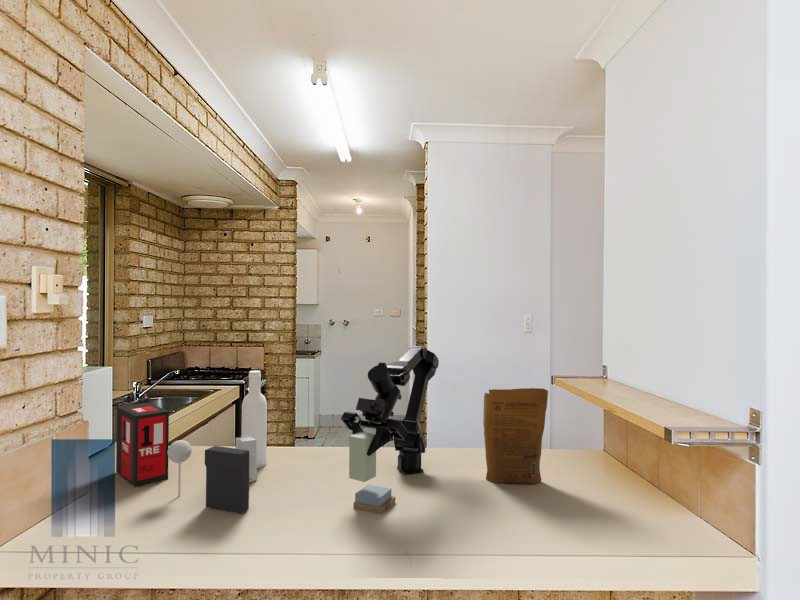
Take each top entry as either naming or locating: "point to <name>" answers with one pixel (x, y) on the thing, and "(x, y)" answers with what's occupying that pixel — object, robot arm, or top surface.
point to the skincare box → (249, 445)
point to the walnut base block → (374, 508)
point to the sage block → (361, 457)
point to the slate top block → (373, 495)
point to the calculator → (227, 479)
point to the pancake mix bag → (514, 434)
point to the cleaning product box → (142, 443)
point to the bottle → (255, 417)
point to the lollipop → (179, 454)
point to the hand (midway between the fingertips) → (359, 453)
